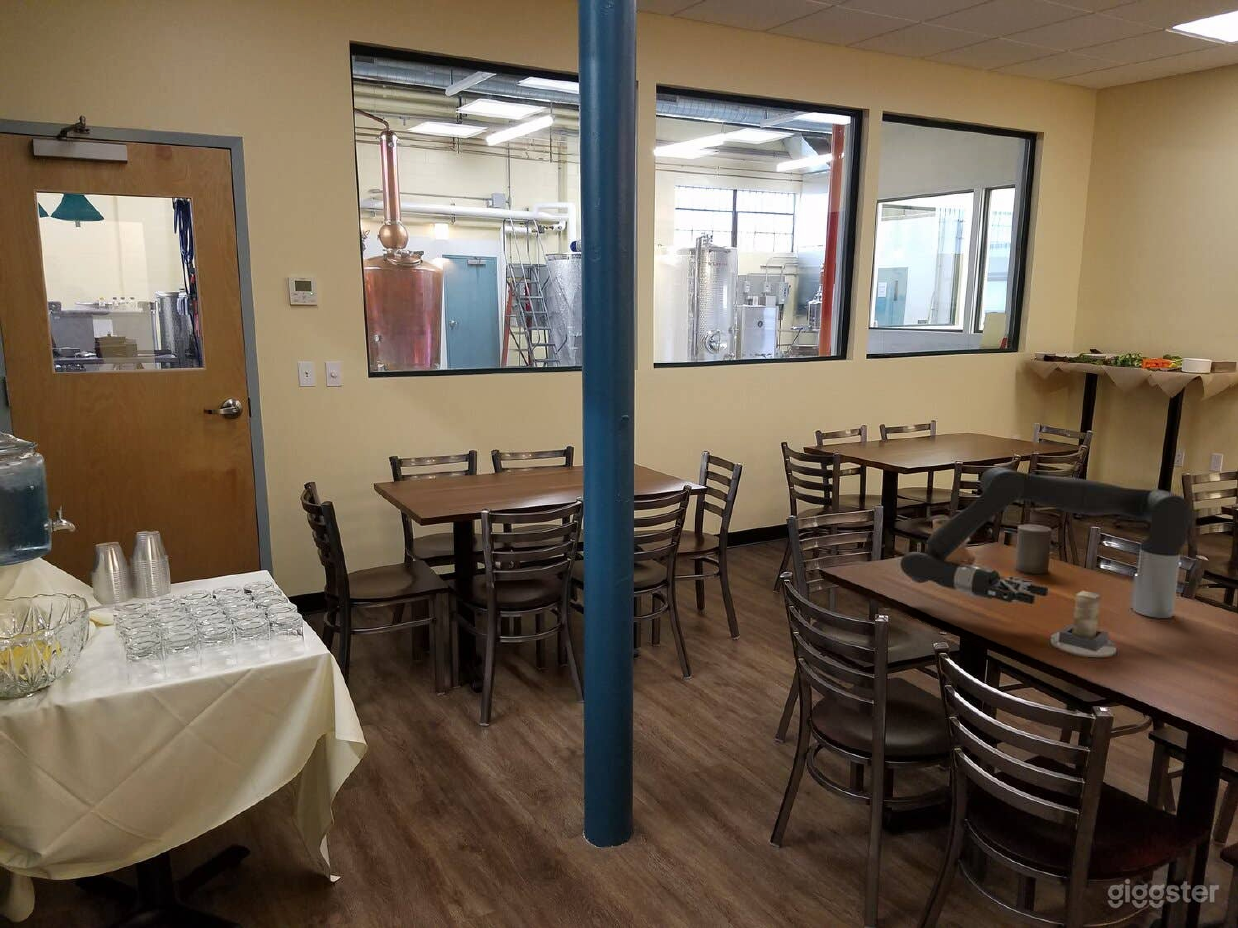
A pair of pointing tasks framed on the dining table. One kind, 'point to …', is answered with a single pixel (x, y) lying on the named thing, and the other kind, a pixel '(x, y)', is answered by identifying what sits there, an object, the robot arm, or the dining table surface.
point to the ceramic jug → (961, 552)
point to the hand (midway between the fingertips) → (1040, 595)
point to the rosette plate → (1083, 643)
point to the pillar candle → (1033, 549)
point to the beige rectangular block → (1086, 614)
